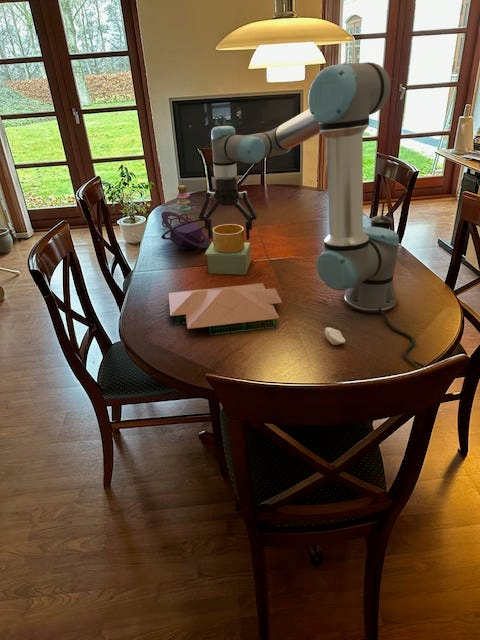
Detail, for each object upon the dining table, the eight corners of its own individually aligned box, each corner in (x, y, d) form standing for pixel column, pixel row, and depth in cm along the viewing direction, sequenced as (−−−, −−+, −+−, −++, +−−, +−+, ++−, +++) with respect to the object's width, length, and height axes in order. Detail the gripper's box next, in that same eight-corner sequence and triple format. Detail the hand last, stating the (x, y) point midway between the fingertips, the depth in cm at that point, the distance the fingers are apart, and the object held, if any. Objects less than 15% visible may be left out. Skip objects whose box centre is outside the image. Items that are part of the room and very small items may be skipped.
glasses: (187, 222, 210) (186, 212, 207) (200, 230, 200) (200, 219, 198) (162, 228, 204) (160, 218, 201) (174, 236, 194) (173, 225, 192)
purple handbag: (213, 256, 173) (209, 192, 160) (159, 259, 172) (150, 195, 159) (213, 236, 192) (208, 177, 179) (164, 239, 191) (156, 180, 178)
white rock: (319, 338, 121) (321, 325, 120) (336, 339, 122) (339, 325, 121) (330, 348, 114) (333, 334, 113) (348, 348, 116) (351, 334, 114)
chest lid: (205, 255, 156) (204, 253, 156) (212, 243, 166) (212, 241, 165) (245, 256, 154) (245, 254, 153) (250, 244, 164) (250, 242, 163)
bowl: (241, 254, 154) (241, 234, 150) (210, 253, 156) (209, 234, 152) (246, 242, 163) (246, 224, 160) (217, 242, 165) (215, 223, 161)
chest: (208, 273, 159) (207, 255, 156) (215, 260, 169) (214, 243, 166) (245, 274, 157) (245, 256, 154) (250, 261, 167) (250, 244, 164)
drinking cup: (388, 258, 165) (396, 205, 155) (367, 257, 167) (373, 204, 156) (386, 250, 172) (394, 199, 161) (366, 250, 173) (372, 198, 163)
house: (288, 326, 126) (289, 301, 122) (172, 340, 122) (168, 315, 118) (270, 291, 145) (270, 268, 141) (170, 302, 141) (167, 278, 137)
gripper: (264, 174, 148) (265, 235, 158) (192, 174, 152) (197, 234, 163) (261, 179, 141) (262, 242, 152) (186, 179, 146) (192, 241, 156)
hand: (229, 238), depth 157 cm, fingers open, 13 cm apart
